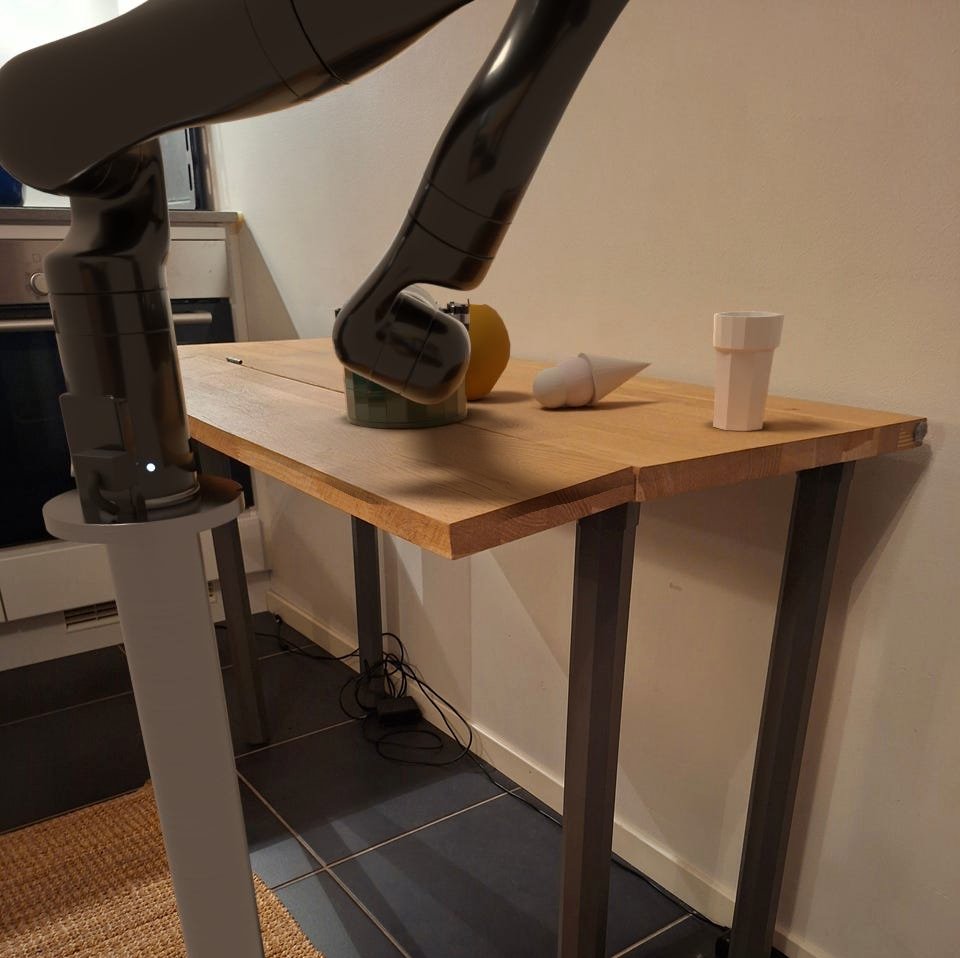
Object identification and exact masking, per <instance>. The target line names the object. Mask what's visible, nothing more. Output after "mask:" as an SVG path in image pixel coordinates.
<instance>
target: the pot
mask: <svg viewBox="0 0 960 958" xmlns="http://www.w3.org/2000/svg"><path fill="white" fill-rule="evenodd" d="M341 367H342V379H343V380H342V381H343V391H344V404H345V414H346V420H347V422H348V423H350V424H353V425H355V426H360V427H365V428H372V429H373V428H374V429H394V430H395V429H396V430H398V429H402V430H403V429H421V428H430V427H431V428H432V427H439V426H445V425H450V424H454V423H457V422H460V421H462V420H465V419H466V418H467V416H468V400H467V372H466V374H465V377H464V379H463V381H462V382H461V384H460V386H459V387H458V388H457V390H456V391H455V392H454V393H453V394H452V395H451V396H450V397H448V398H447V399H446V400H444V401H442V402H440V403H437V404H431V405H427V404H421V403H418V402H415V401H413V400H410V399H408V398H406V397H404V396H402V395H401V394H400V393H396V392H394V391H392V390H390V389H388V388H386V387H384V386H381V385H379V384H377V383H375V382H373V381H371V380H369V379H367V378H365V377H362V376H360V375H358V374H356V373H354V372H352V371H350V370H349V369H347V368H346V367H344V366H343V365H342V364H341Z"/></svg>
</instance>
